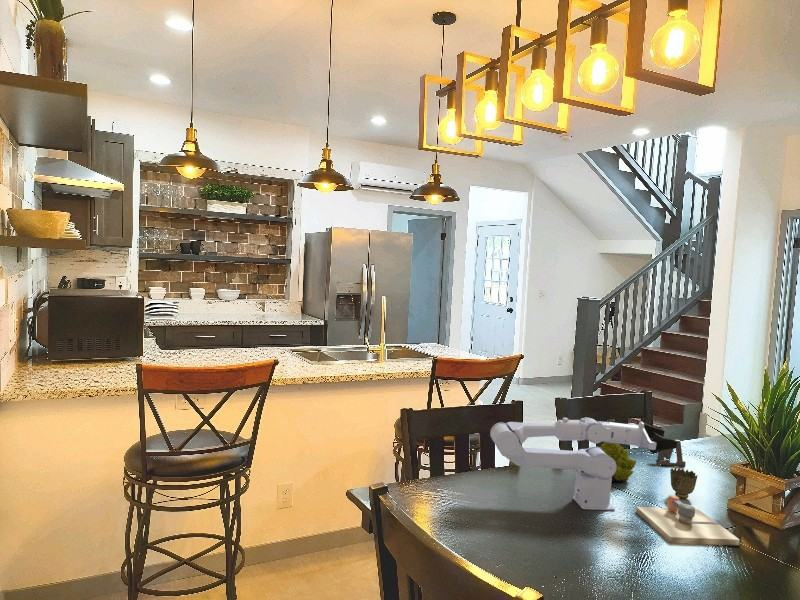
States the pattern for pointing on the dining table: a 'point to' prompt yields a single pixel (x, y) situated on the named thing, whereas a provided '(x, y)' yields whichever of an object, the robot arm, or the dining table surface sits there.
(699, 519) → the base
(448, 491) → the dining table surface
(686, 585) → the dining table surface
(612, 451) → the vegetable
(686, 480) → the cup
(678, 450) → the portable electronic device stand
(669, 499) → the lock lever
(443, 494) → the dining table surface
